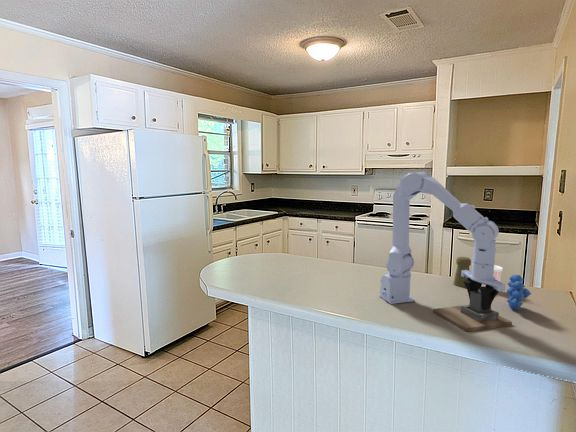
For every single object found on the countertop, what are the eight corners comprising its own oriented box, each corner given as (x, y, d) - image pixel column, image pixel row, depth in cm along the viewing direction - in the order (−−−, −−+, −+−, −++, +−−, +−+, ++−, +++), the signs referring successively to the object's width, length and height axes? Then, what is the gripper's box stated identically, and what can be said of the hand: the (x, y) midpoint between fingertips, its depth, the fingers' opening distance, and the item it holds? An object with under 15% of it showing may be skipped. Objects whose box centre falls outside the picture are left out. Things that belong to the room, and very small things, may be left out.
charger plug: (479, 315, 105) (481, 292, 104) (469, 309, 109) (470, 287, 108) (490, 313, 106) (492, 291, 105) (479, 308, 110) (481, 286, 109)
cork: (472, 288, 134) (474, 259, 133) (455, 286, 136) (457, 258, 134) (468, 282, 140) (470, 255, 139) (451, 281, 142) (453, 254, 140)
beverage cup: (494, 287, 135) (497, 251, 133) (504, 293, 129) (508, 255, 127) (478, 287, 135) (481, 251, 133) (488, 293, 129) (491, 255, 127)
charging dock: (466, 331, 99) (467, 321, 99) (433, 312, 112) (433, 303, 112) (511, 324, 103) (512, 315, 103) (474, 306, 117) (475, 297, 116)
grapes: (534, 319, 107) (538, 280, 106) (508, 315, 110) (511, 278, 108) (525, 305, 118) (528, 270, 116) (501, 302, 121) (504, 267, 119)
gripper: (515, 268, 99) (511, 314, 101) (475, 255, 113) (472, 296, 115) (495, 270, 97) (491, 317, 99) (456, 257, 111) (453, 298, 113)
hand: (479, 306), depth 107 cm, fingers closed on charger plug, 4 cm apart
